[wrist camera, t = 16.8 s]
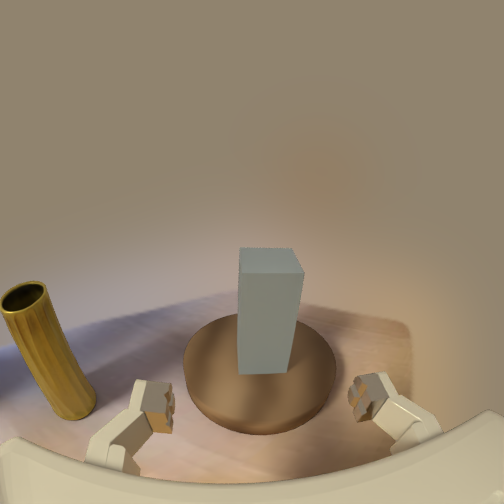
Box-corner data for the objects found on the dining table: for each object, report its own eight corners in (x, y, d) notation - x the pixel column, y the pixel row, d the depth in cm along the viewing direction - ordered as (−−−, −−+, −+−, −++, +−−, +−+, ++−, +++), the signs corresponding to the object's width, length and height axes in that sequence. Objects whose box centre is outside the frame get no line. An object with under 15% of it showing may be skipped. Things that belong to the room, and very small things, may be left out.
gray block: (238, 374, 26) (242, 273, 21) (237, 342, 31) (239, 247, 26) (286, 372, 27) (304, 273, 22) (279, 341, 31) (291, 248, 26)
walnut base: (168, 420, 23) (162, 405, 22) (204, 323, 38) (203, 306, 37) (336, 436, 22) (345, 422, 20) (322, 333, 37) (326, 317, 36)
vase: (102, 385, 25) (61, 279, 20) (89, 426, 20) (28, 320, 14) (61, 377, 25) (17, 276, 19) (46, 414, 19) (-17, 311, 13)
